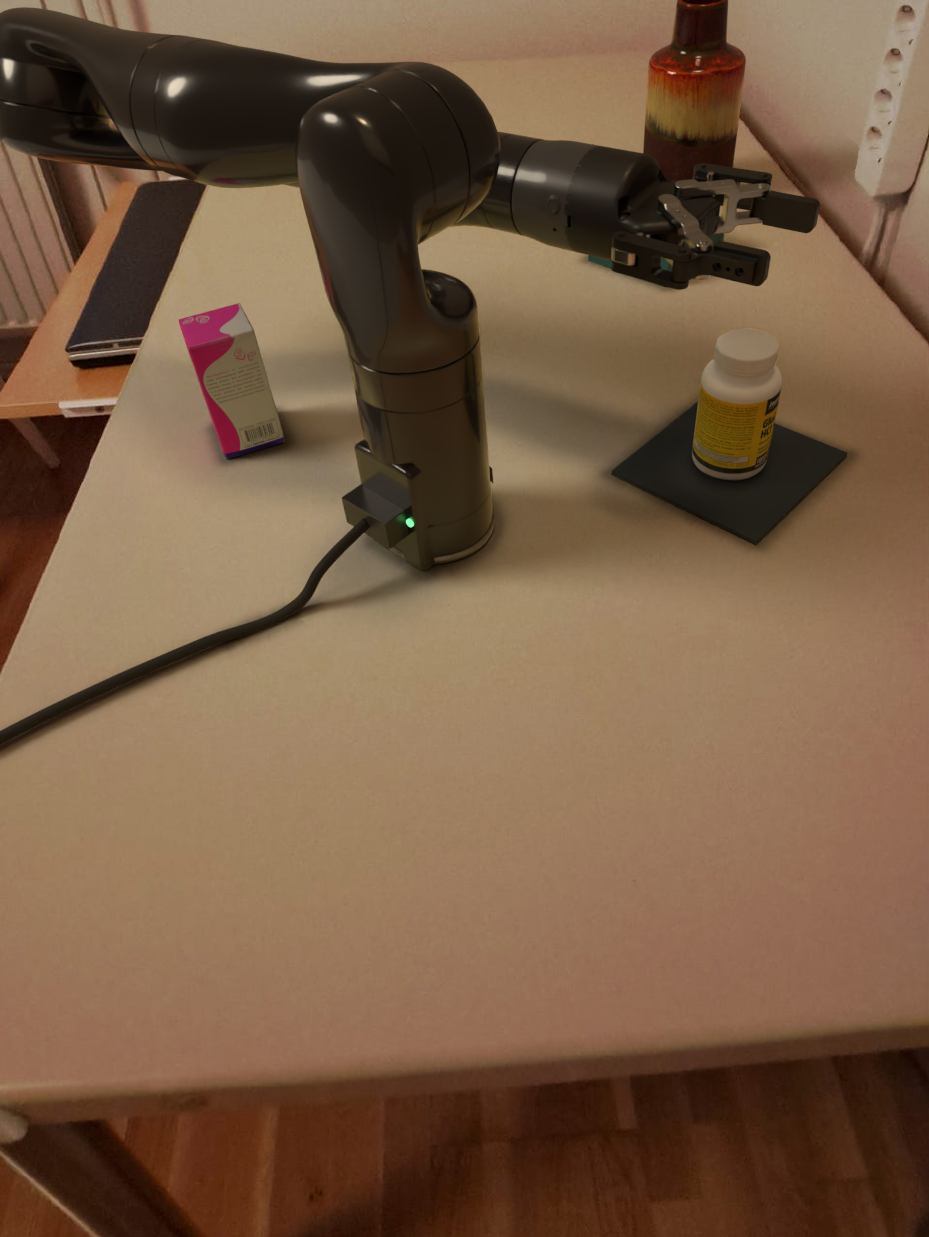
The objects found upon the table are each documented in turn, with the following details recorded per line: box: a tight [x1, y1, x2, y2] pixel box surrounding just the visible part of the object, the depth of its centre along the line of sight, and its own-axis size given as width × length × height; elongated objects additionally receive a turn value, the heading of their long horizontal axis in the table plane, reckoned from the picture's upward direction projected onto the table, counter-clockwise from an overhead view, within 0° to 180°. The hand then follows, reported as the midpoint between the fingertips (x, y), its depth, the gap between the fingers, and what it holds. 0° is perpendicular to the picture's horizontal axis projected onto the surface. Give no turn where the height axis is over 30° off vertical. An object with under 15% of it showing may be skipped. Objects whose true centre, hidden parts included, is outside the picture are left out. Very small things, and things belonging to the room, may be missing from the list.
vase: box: [642, 0, 747, 181], centre depth 109 cm, size 11×11×20 cm
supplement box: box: [178, 302, 286, 460], centre depth 84 cm, size 6×6×12 cm
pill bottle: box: [692, 327, 783, 480], centre depth 75 cm, size 6×6×11 cm
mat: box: [610, 401, 848, 545], centre depth 79 cm, size 14×14×1 cm
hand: (792, 242), depth 64 cm, fingers open, 8 cm apart
